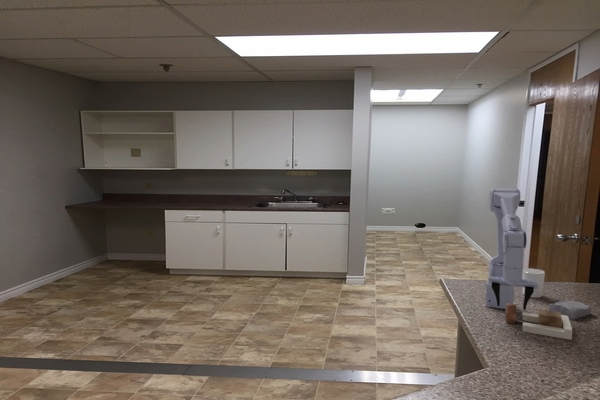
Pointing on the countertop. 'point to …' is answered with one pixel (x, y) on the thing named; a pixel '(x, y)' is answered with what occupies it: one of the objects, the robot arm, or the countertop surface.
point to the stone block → (571, 309)
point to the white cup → (534, 280)
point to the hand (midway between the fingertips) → (511, 306)
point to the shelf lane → (547, 327)
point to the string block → (543, 317)
